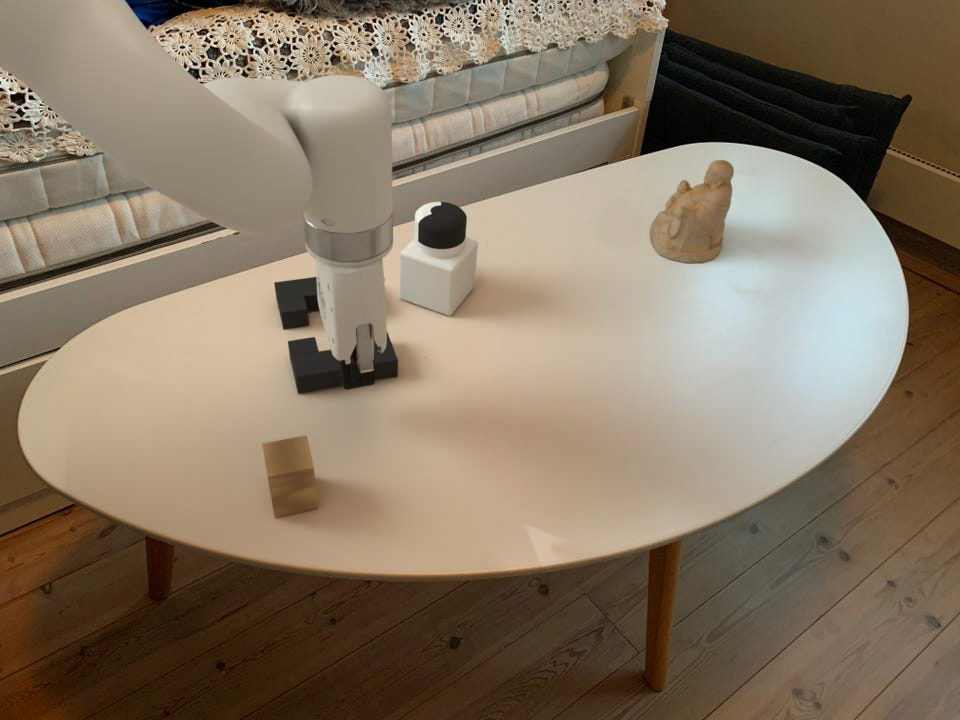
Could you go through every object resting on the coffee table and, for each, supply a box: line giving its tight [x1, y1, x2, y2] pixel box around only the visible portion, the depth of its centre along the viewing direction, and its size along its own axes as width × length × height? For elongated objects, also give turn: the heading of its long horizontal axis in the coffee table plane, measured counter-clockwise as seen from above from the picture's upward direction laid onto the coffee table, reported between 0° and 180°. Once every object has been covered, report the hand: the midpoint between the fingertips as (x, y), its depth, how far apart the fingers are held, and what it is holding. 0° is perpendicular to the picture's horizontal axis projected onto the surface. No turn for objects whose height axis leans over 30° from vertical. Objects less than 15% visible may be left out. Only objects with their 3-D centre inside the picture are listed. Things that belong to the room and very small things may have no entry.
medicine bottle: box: [399, 201, 479, 317], centre depth 94 cm, size 7×7×12 cm
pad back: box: [273, 276, 320, 330], centre depth 94 cm, size 11×6×2 cm, turn 109°
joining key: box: [261, 435, 319, 519], centre depth 71 cm, size 4×4×6 cm
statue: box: [649, 159, 735, 264], centre depth 108 cm, size 12×14×10 cm
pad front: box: [287, 331, 399, 394], centre depth 86 cm, size 11×6×2 cm, turn 109°
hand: (358, 381), depth 79 cm, fingers closed
